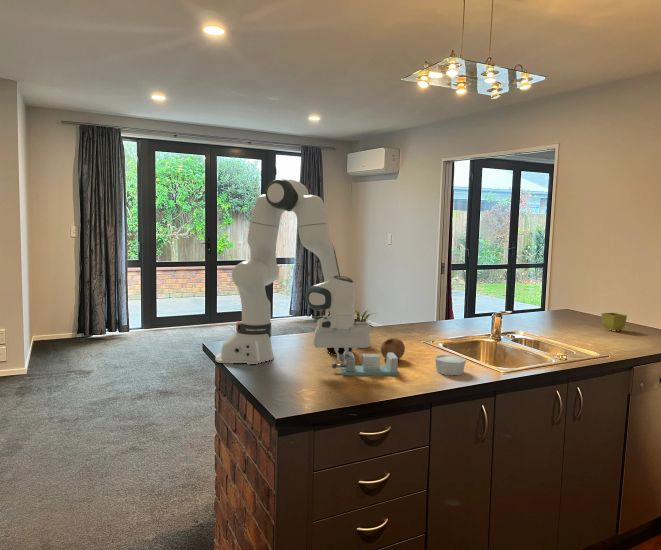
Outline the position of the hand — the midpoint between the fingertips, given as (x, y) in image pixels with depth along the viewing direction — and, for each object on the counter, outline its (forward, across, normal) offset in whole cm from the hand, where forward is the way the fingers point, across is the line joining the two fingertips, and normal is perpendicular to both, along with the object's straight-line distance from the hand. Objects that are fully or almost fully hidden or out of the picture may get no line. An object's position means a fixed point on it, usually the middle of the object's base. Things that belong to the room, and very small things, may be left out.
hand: (341, 359), depth 176 cm
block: (+4, -11, 0) cm, 11 cm away
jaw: (+3, -1, 0) cm, 3 cm away
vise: (+5, -10, 0) cm, 11 cm away
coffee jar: (+5, -2, -28) cm, 29 cm away
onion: (+5, -22, -16) cm, 28 cm away
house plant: (+5, -13, -41) cm, 44 cm away
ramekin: (+5, -40, 0) cm, 41 cm away
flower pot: (+6, -154, -74) cm, 171 cm away
